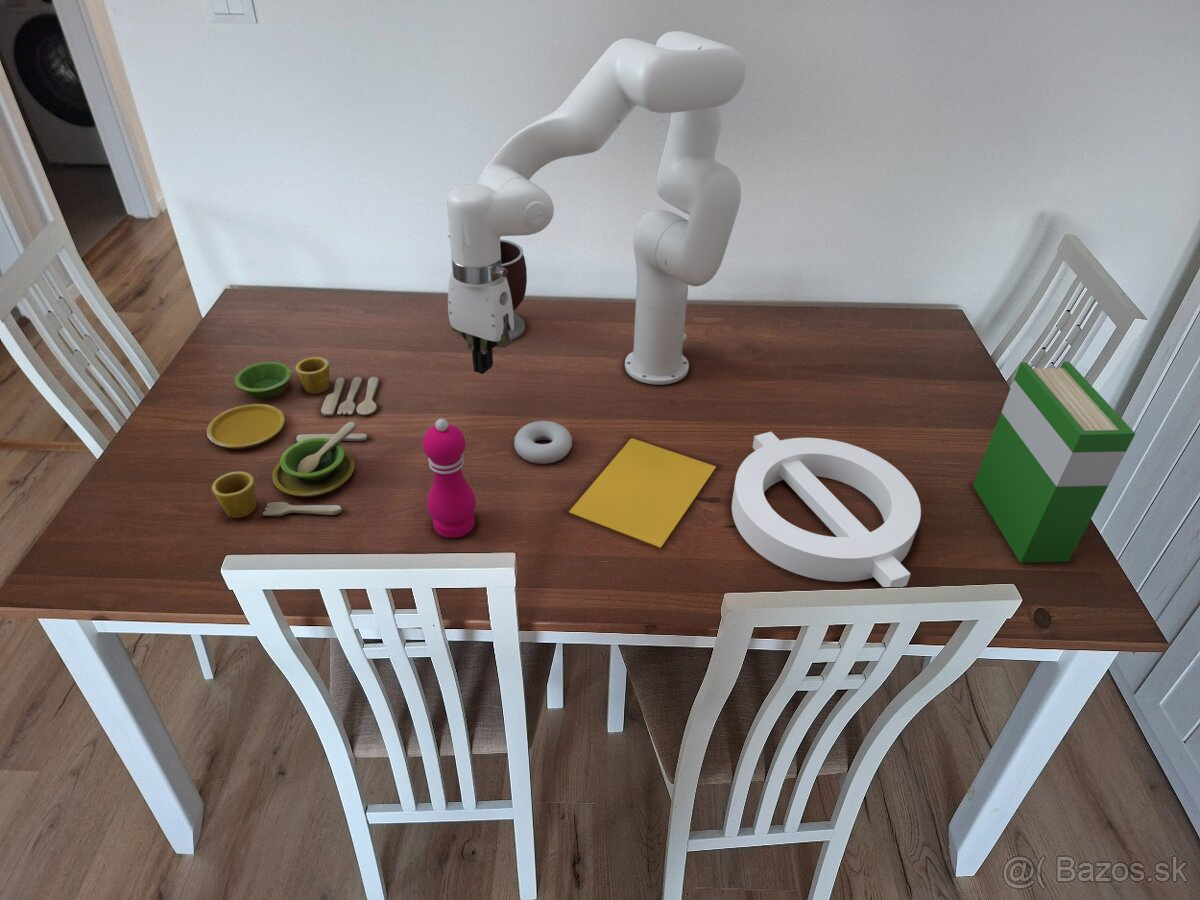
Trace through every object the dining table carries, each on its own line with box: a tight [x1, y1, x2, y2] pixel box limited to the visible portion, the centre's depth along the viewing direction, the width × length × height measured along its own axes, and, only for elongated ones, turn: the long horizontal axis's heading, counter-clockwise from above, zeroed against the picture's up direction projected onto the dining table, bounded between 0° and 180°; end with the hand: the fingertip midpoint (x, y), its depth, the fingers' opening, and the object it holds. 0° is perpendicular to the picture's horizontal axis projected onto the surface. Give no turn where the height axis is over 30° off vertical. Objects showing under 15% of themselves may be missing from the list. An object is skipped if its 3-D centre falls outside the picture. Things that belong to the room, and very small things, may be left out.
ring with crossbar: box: [731, 431, 922, 588], centre depth 129 cm, size 28×28×5 cm
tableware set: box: [206, 356, 380, 519], centre depth 141 cm, size 41×28×6 cm
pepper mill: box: [422, 418, 477, 539], centre depth 122 cm, size 7×7×20 cm
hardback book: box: [972, 361, 1136, 564], centre depth 123 cm, size 18×7×24 cm, turn 3°
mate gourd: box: [448, 234, 528, 341], centre depth 169 cm, size 16×14×20 cm
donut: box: [513, 420, 573, 465], centre depth 142 cm, size 10×4×10 cm
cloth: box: [568, 437, 717, 549], centre depth 135 cm, size 22×16×1 cm
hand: (483, 369), depth 139 cm, fingers closed
